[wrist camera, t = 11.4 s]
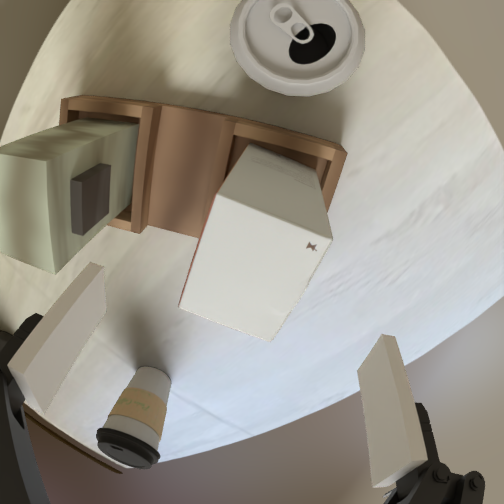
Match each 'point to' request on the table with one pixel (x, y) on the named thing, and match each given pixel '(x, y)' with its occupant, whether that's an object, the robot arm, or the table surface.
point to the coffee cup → (137, 420)
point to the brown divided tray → (131, 173)
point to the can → (297, 43)
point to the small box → (258, 244)
